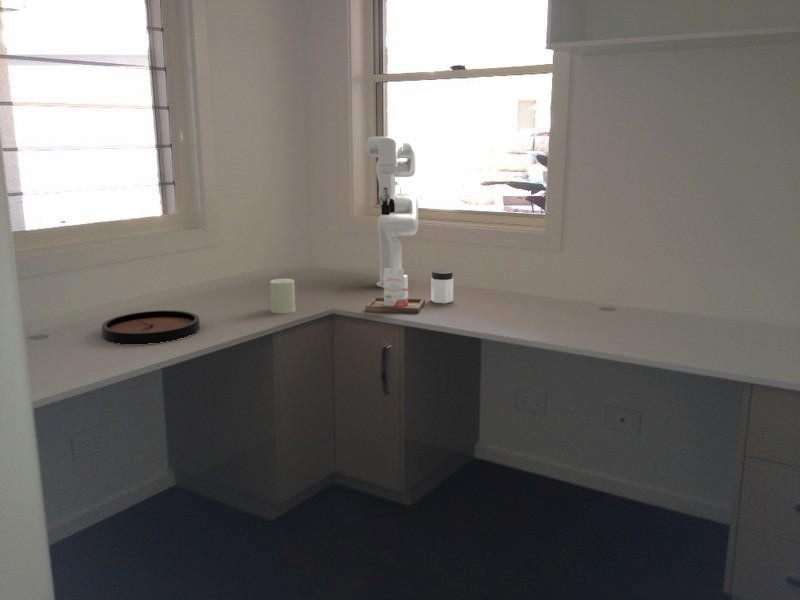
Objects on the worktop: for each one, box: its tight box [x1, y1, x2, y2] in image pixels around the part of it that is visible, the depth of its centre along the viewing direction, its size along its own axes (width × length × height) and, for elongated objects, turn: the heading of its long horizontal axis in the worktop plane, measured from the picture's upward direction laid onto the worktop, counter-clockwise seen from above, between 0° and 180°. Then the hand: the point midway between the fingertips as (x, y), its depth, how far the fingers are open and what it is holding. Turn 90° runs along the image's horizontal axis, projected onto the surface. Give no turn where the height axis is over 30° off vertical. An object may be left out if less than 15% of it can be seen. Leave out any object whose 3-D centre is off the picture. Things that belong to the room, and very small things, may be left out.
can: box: [269, 278, 297, 315], centre depth 275 cm, size 9×9×12 cm
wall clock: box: [101, 309, 201, 345], centre depth 248 cm, size 31×4×31 cm
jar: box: [430, 269, 454, 304], centre depth 290 cm, size 9×8×12 cm
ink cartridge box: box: [383, 268, 409, 307], centre depth 279 cm, size 9×5×15 cm, turn 72°
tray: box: [365, 296, 426, 315], centre depth 280 cm, size 16×20×2 cm
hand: (388, 213), depth 289 cm, fingers open, 9 cm apart
